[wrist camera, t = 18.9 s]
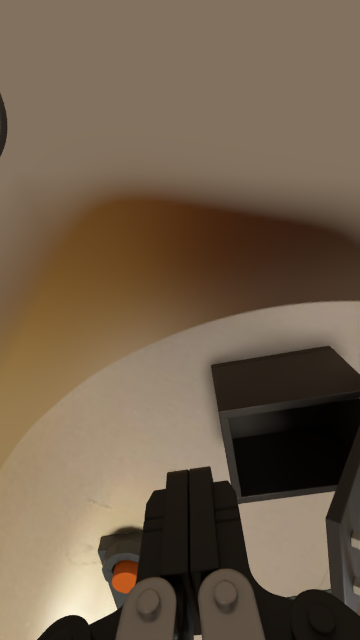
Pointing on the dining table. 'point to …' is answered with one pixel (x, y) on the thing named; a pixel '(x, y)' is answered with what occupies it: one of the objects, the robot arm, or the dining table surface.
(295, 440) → the hinged lid box
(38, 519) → the dining table surface
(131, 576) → the button
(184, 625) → the robot arm
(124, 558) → the control pad
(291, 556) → the dining table surface
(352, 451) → the box lid
